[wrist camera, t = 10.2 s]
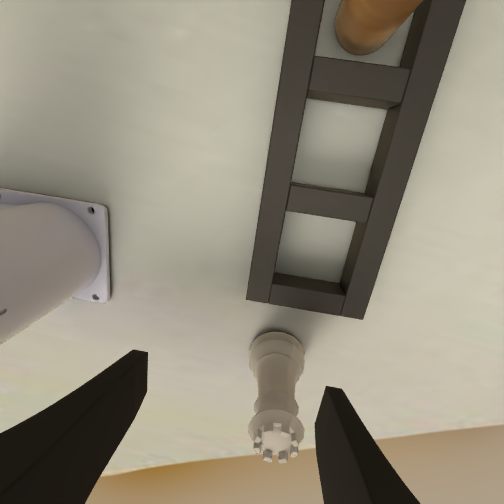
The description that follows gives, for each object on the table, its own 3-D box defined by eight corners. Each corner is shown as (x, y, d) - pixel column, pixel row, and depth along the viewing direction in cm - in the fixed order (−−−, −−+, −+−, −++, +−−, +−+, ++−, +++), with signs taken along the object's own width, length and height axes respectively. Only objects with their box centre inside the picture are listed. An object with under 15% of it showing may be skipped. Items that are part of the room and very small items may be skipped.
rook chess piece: (270, 318, 22) (266, 403, 14) (315, 347, 22) (334, 444, 15) (239, 354, 23) (220, 449, 15) (282, 381, 23) (284, 486, 16)
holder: (248, 287, 21) (245, 300, 19) (306, -87, 14) (310, -126, 12) (355, 305, 21) (363, 320, 19) (469, -68, 14) (500, -104, 12)
